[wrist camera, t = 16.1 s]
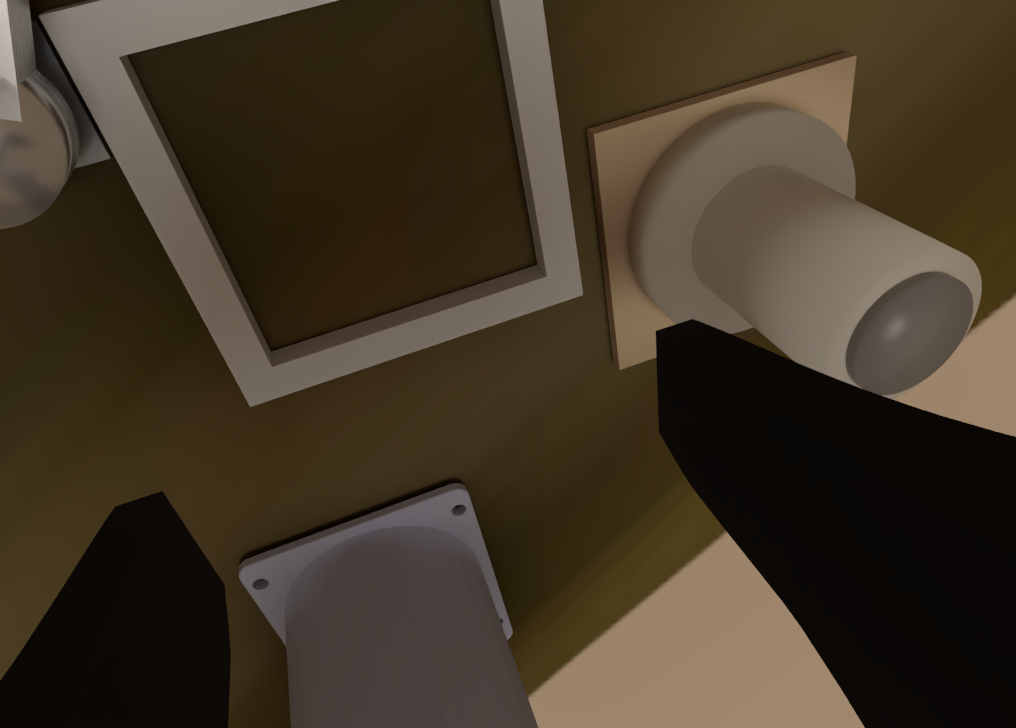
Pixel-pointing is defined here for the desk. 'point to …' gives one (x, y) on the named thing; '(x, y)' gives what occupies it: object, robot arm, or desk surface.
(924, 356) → the plug
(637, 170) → the coaster
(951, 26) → the desk surface
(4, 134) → the clip
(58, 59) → the thin grey base plate
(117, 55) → the socket
